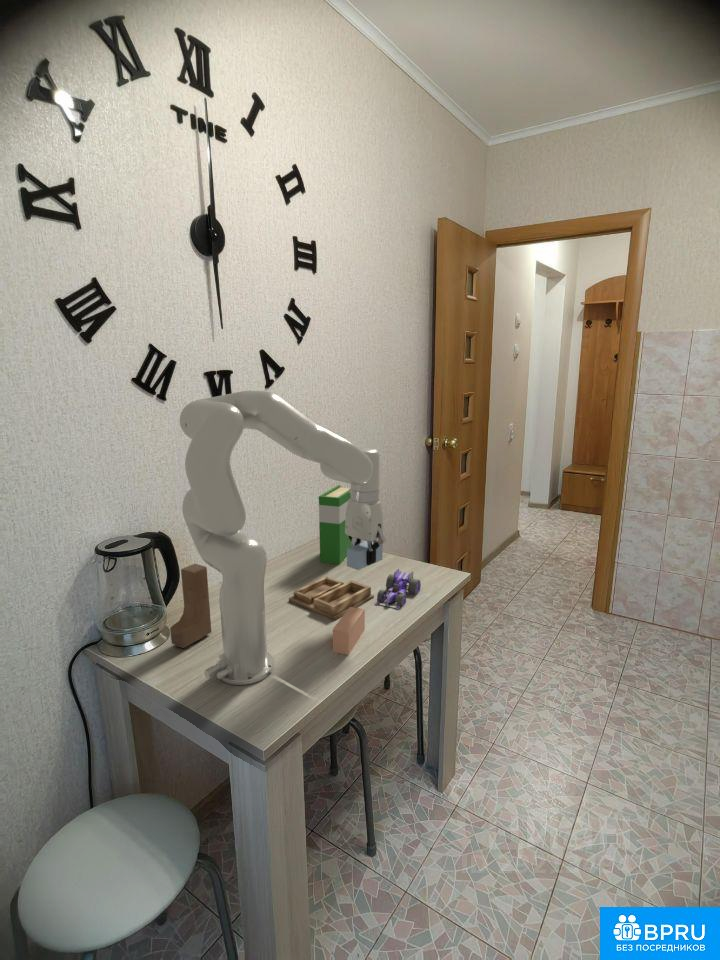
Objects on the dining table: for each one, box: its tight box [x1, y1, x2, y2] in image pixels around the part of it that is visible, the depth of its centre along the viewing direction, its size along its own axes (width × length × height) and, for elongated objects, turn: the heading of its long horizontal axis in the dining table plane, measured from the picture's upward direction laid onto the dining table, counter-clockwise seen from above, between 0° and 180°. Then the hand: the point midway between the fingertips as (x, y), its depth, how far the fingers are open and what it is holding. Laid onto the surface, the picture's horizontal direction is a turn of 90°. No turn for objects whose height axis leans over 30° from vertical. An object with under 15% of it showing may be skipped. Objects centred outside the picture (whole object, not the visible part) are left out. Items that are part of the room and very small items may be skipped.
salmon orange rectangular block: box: [332, 607, 366, 656], centre depth 121 cm, size 12×4×6 cm, turn 161°
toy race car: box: [375, 568, 422, 611], centre depth 143 cm, size 10×15×6 cm, turn 153°
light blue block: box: [346, 540, 384, 571], centre depth 132 cm, size 10×4×5 cm, turn 138°
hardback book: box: [318, 484, 352, 565], centre depth 175 cm, size 18×7×24 cm, turn 161°
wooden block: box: [169, 563, 212, 649], centre depth 121 cm, size 9×4×18 cm, turn 149°
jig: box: [288, 576, 375, 621], centre depth 143 cm, size 17×18×4 cm
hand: (364, 560), depth 132 cm, fingers closed on light blue block, 4 cm apart
